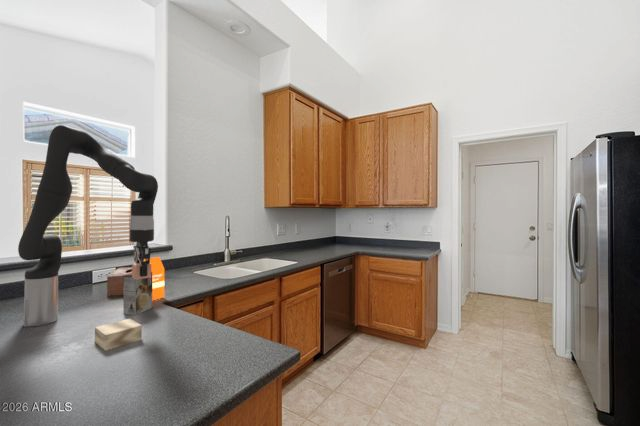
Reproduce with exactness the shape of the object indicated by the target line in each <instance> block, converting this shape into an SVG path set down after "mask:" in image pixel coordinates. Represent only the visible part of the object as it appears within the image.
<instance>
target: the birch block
mask: <svg viewBox="0 0 640 426" xmlns="http://www.w3.org/2000/svg"><path fill="white" fill-rule="evenodd" d="M142 327H143V325H142V324H141V323H138V322H136V321H135V320H133V319H132V318H126V319H123V320H119V321H115V322H110V323H106V324H101V325H98V326H95V327H94V343H96V344H97V345H98V346H99V347H100V348H101V349H103V350H104V351H105V352H106V351H110V350H113V349H116V348H119V347H121V345H123V346H126V345H129V344H132V343H135V342H139V341H142V340H143V339H142V338H143V337H142V336H143V335H142ZM118 346H119V347H118ZM115 347H116V348H115ZM112 348H113V349H112ZM109 349H110V350H109Z"/></svg>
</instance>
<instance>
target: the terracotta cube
mask: <svg viewBox="0 0 640 426" xmlns="http://www.w3.org/2000/svg"><path fill="white" fill-rule="evenodd" d="M131 267H132V278H134V279H135V280H137V279H144V278H151V263H150V264H148V265H147V276H143V277H141V276H140V263H135V262H134V263H132V264H131Z"/></svg>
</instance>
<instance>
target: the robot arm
mask: <svg viewBox="0 0 640 426" xmlns="http://www.w3.org/2000/svg"><path fill="white" fill-rule="evenodd" d="M70 154H75V155H82V156H84V157H87V158H89V159H91V160H93V161H95V162H96V163H97V165H98V166H99V168H101V169H102V171H104V172H105V173H106V174H108V175H110V176H111V177H113V178H114V179H116V180H118V181H119V182H120V183H121V184H122V185H123V186H124V187H125V188H127V190H130V191H132V192H134V193H139V194H138V197H137V198H136V199H133V200H132V201H131V202H130V203H131V204H130V218H129V242H130V243H135V245H133V260H134V263H140V276H141V277H143V276H147V265H148V264H150V258H151V250H152V249H151V247H150V246H149V244H148V243H149V242H154V240H155V219H154V204H155V201H156V198H157V193H158V189H159V182H158V180H157V179H156V177H155V176H154V175H151V174H147V173H142V172H140V171H137V170H136V169H135V167H134V166H133V165H132V164H130V163H129V162H127V161H126V160H124V159H123V158H121V157H119V156H118V155H116V154H115V153H113V152H111V151H109V150H108V149H107V148H105V147H104V146H103V145H101V143H99V142H98V141H97V140H96V139H94V137H93V136H91V135H90V134H89V133H88V132H86V131H84V130H82V129H79V128H75V127H71V126H68V125H62V124H58V125H56V126H55V127H54V128H53V129H52V130H51V132H50V135H49V139H48V143H47V150H46V157H45V163H44V167H43V169H42V170H43V171H42V175H41V178H40V182H39V184H38V187H37V191H36V194H35V198H34V203H33V206H32V209H31V213H30V216H29V218H28V220H27V222H26V223H27V224H26V226H25V227H24V231H23V232H22V235H21V237H20V240H19V244H18V247H17V248H18V249H17V251H18V255H19V257H20V258H21V259H22V260H24V261H36V260H37V261H39V262H38V263H36V265H34V266H33V267H31V268H28V269H27V270H25V272H24V300H23V327H24V328H27V327H38V326H44V325H47V324H52V323H54V322H56V321H58V320H59V271H60V268H61V264H62V254H63V253H62V252H63V244H62V240H61V238H60V237H59V236H58V235H57V234H53V233H50V234H49V233H46V230H47V229H48V226H50V224H51V223H52V222H53V221H54V220H55V219H56V218H57V217H58V216H59V215H60V214H62V212H63V211H65V209H66V208H67V207H68V205H69V202H70V199H71V195H72V192H73V185H72V181H71V179H70V176H69V174H68V170H67V165H68V159H69V156H70ZM144 259H145V260H146V261H144Z"/></svg>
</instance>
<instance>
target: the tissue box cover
mask: <svg viewBox="0 0 640 426" xmlns="http://www.w3.org/2000/svg"><path fill="white" fill-rule="evenodd" d="M131 273H132V266H128V267H127V266H126V267H124V266H123V267H119V268H116V269H115V270H114V271H113V272H111V273H110V274H109V275H108V276H106V279H107V280H106V282H107V283H106V285H107V286H106V288H107V289H106V296H107V297H112V296H111V295H115V296H124V295H123V294H124V292H123V290H124V289H123V275H127V274H131Z"/></svg>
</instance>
